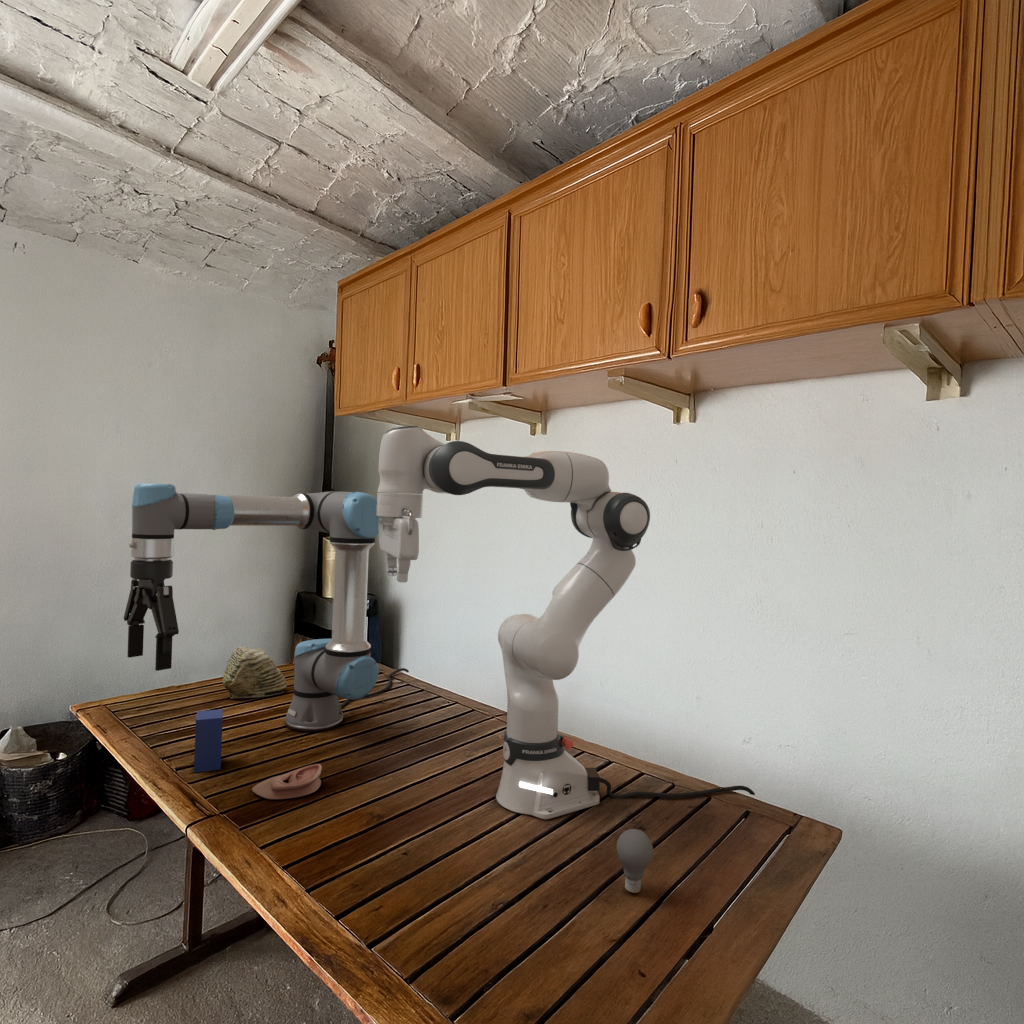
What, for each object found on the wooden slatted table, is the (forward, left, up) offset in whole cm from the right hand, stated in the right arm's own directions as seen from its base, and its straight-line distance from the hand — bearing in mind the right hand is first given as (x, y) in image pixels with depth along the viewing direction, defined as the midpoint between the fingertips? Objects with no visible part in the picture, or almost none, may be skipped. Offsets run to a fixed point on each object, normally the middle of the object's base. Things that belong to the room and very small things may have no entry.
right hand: (396, 578), depth 124 cm
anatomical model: (+18, -20, -48) cm, 55 cm away
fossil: (+24, -88, -48) cm, 104 cm away
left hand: (+45, -23, -20) cm, 55 cm away
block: (+34, -37, -48) cm, 69 cm away
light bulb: (-34, +35, -48) cm, 69 cm away
